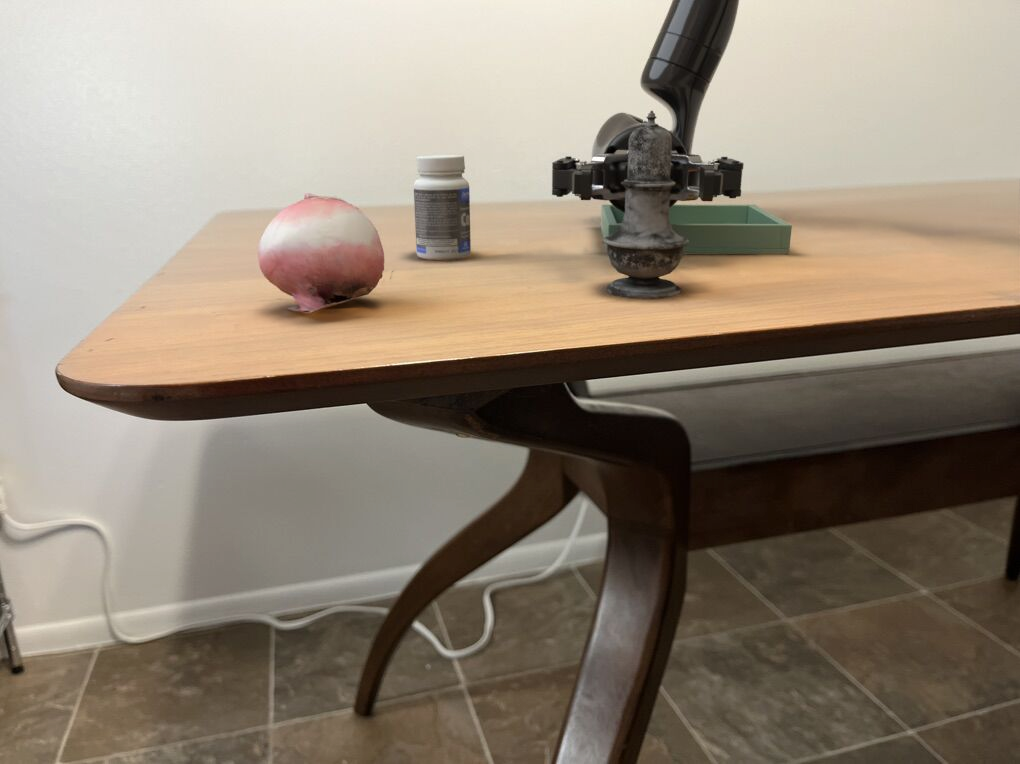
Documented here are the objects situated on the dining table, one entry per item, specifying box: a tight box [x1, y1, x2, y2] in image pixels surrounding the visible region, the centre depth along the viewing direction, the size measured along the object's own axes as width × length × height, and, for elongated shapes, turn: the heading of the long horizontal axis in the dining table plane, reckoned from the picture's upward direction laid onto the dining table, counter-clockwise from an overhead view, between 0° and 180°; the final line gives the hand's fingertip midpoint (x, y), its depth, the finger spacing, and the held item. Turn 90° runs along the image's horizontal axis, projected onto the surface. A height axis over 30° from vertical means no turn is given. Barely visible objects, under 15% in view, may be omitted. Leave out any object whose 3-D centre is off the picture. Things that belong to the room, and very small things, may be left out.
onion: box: [257, 192, 385, 314], centre depth 52 cm, size 8×8×7 cm
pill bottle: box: [413, 154, 472, 261], centre depth 69 cm, size 5×5×8 cm
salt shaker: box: [602, 110, 689, 300], centre depth 55 cm, size 6×6×12 cm
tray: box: [600, 204, 793, 255], centre depth 77 cm, size 16×15×2 cm
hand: (647, 185), depth 57 cm, fingers open, 8 cm apart
